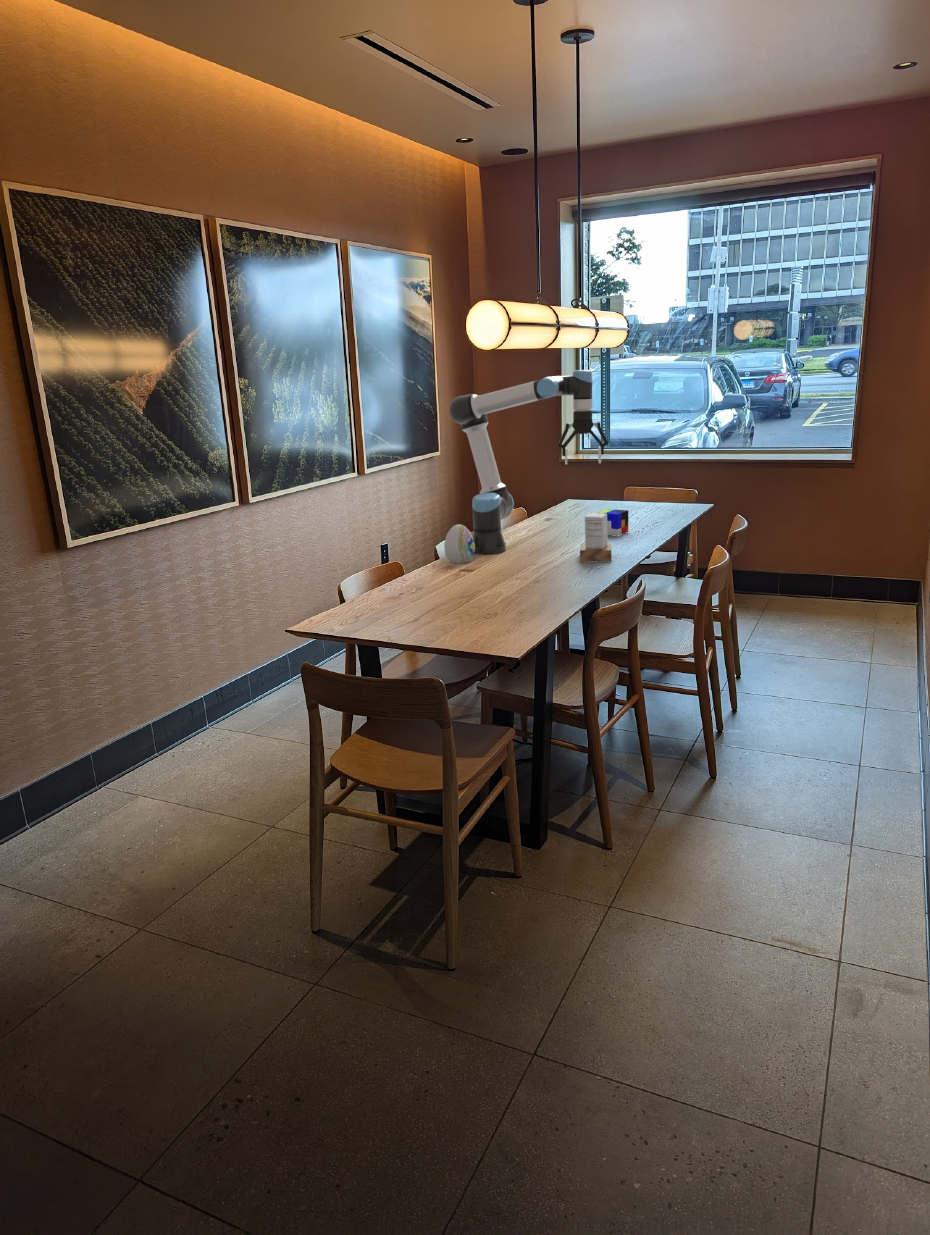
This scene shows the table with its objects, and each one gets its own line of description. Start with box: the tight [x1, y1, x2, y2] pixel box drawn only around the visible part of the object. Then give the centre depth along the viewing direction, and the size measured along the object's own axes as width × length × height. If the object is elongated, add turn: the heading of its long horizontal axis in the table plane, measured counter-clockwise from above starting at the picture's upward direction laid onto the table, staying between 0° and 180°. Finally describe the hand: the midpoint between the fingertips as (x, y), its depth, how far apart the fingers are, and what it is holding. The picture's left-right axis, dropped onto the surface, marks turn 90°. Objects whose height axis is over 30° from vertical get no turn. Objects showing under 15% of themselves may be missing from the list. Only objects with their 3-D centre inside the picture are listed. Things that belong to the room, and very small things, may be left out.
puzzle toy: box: [597, 508, 629, 537], centre depth 375 cm, size 10×10×10 cm
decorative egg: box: [443, 523, 475, 564], centre depth 335 cm, size 12×12×15 cm
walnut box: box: [579, 543, 612, 563], centre depth 331 cm, size 12×12×5 cm
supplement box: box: [584, 512, 609, 549], centre depth 328 cm, size 7×7×13 cm
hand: (582, 463), depth 342 cm, fingers open, 13 cm apart
